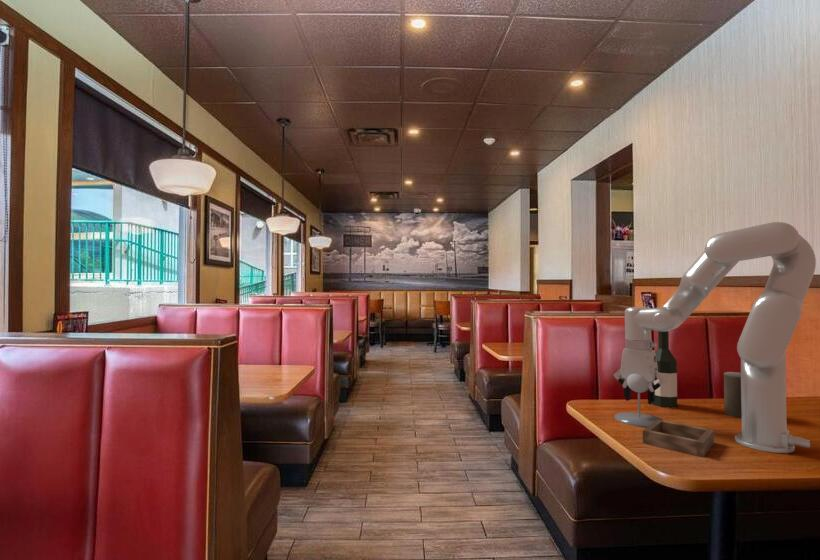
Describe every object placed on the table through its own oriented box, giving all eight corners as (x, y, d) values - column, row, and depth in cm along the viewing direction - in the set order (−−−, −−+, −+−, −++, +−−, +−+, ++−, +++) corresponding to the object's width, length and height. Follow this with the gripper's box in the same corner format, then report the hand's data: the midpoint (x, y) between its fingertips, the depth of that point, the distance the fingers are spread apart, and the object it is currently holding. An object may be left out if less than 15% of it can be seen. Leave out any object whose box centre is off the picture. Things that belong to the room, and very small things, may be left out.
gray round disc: (669, 420, 138) (669, 418, 138) (657, 431, 128) (657, 428, 128) (623, 412, 147) (623, 409, 148) (608, 421, 137) (608, 418, 137)
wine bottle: (682, 409, 151) (681, 324, 152) (659, 409, 151) (657, 324, 152) (669, 402, 160) (667, 322, 160) (646, 402, 160) (645, 322, 160)
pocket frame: (714, 442, 118) (713, 430, 118) (703, 457, 108) (703, 443, 108) (657, 431, 128) (657, 419, 128) (642, 443, 118) (642, 430, 118)
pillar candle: (746, 420, 138) (745, 374, 138) (717, 412, 147) (716, 368, 148) (768, 418, 140) (767, 372, 141) (738, 410, 150) (737, 367, 150)
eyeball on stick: (645, 414, 141) (645, 368, 141) (656, 420, 134) (655, 372, 134) (623, 413, 141) (622, 367, 142) (632, 419, 134) (631, 372, 135)
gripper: (671, 346, 135) (673, 404, 134) (614, 342, 147) (615, 395, 146) (665, 348, 129) (666, 409, 129) (606, 344, 141) (607, 399, 141)
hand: (639, 401), depth 138 cm, fingers closed on eyeball on stick, 5 cm apart
